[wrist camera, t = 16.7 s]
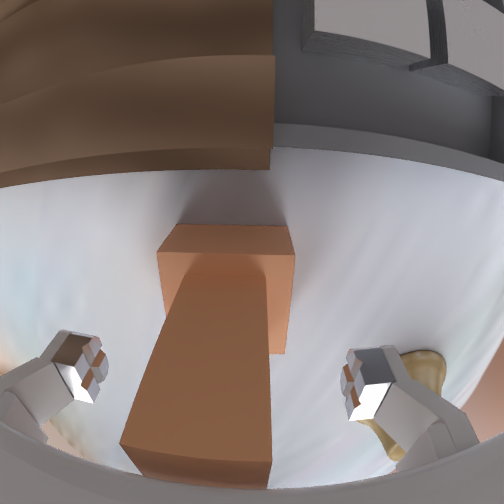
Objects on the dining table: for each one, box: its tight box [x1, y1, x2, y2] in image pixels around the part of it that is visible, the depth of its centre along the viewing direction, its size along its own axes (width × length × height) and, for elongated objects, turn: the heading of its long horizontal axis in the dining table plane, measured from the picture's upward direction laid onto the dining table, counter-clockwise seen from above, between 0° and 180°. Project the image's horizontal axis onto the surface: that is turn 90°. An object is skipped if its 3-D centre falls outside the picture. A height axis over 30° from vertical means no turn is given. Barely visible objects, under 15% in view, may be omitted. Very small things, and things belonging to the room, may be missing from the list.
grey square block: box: [410, 0, 504, 96], centre depth 7 cm, size 4×4×3 cm
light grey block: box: [301, 0, 430, 69], centre depth 7 cm, size 4×4×3 cm
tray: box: [272, 0, 504, 181], centre depth 8 cm, size 12×12×2 cm
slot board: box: [0, 0, 275, 188], centre depth 8 cm, size 14×19×3 cm
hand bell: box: [356, 350, 446, 461], centre depth 11 cm, size 8×8×16 cm
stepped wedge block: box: [119, 224, 295, 489], centre depth 10 cm, size 5×5×10 cm
